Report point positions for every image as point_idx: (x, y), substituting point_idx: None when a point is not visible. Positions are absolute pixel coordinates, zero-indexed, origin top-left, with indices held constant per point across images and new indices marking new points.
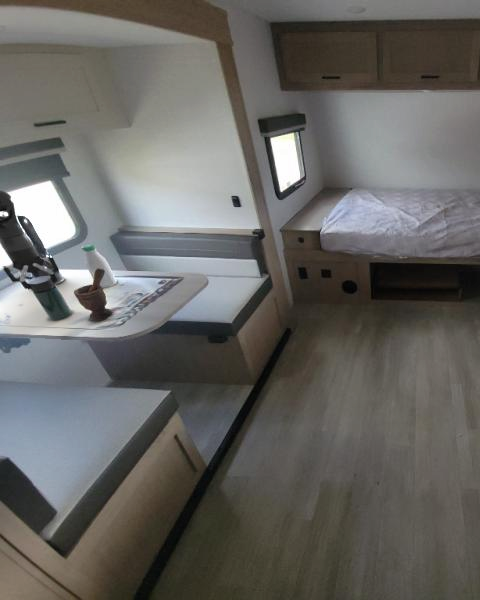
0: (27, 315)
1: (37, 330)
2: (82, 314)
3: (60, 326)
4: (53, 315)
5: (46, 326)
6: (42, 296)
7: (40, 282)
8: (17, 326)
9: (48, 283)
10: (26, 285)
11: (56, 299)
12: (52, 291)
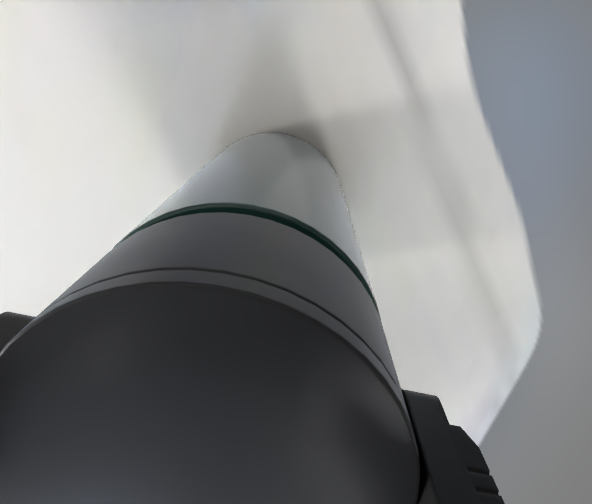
0: None
1: (474, 114)
2: (164, 59)
3: (359, 2)
4: (326, 165)
5: (410, 119)
6: (331, 221)
7: (228, 321)
8: (496, 311)
9: (122, 262)
10: (450, 461)
11: (226, 167)
12: (190, 198)
